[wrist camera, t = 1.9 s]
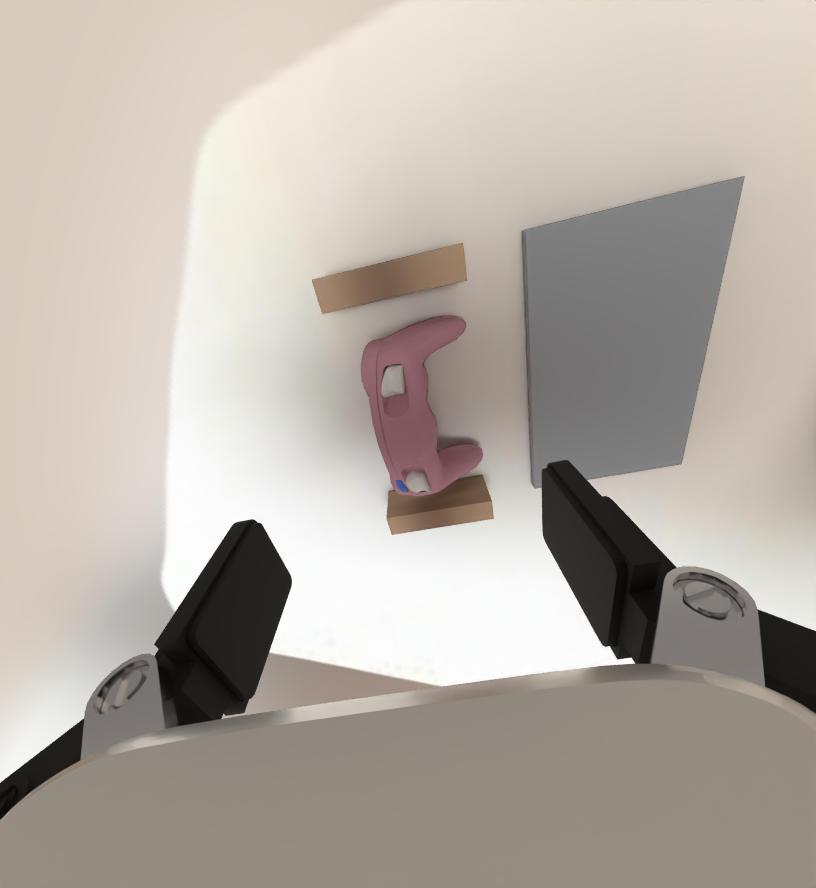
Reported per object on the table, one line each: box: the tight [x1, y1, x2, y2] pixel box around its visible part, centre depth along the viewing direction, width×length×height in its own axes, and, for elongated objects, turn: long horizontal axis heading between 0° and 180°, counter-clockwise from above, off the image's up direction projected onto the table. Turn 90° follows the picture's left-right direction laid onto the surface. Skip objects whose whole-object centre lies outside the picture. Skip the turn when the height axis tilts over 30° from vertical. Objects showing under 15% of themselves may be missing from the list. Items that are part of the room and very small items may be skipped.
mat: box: [522, 176, 745, 488], centre depth 19 cm, size 10×16×1 cm, turn 12°
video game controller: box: [361, 316, 483, 496], centre depth 18 cm, size 10×5×7 cm, turn 13°
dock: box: [312, 243, 494, 535], centre depth 19 cm, size 7×16×3 cm, turn 12°
